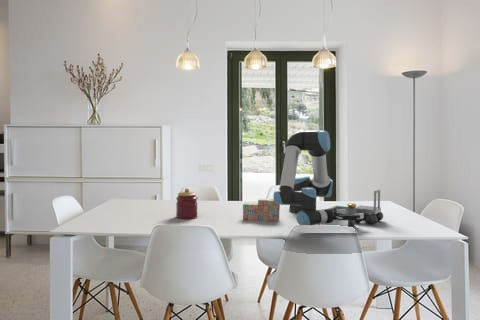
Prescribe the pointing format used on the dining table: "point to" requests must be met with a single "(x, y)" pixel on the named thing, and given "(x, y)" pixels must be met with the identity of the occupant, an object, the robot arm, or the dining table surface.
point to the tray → (340, 208)
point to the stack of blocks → (261, 210)
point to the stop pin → (351, 211)
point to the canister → (186, 205)
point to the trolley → (370, 211)
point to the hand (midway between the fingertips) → (354, 213)
